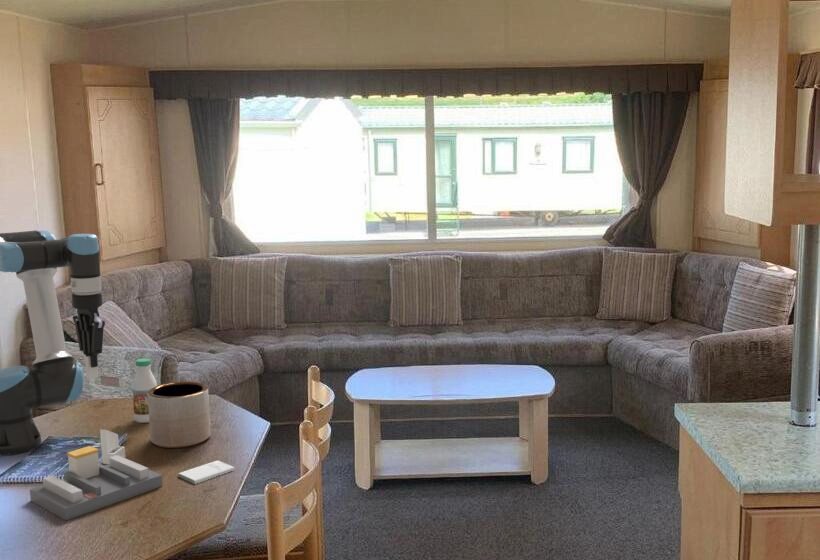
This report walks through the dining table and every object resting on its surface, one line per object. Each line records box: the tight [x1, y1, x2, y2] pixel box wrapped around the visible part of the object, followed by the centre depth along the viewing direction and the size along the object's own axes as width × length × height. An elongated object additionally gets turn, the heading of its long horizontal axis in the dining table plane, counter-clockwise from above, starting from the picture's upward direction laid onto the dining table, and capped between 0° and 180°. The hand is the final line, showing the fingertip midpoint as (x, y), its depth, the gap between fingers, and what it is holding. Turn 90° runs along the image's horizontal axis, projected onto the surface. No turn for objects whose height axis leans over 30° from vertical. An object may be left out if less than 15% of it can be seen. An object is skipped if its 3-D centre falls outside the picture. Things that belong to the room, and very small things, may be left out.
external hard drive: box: [177, 460, 235, 485], centre depth 223 cm, size 2×8×12 cm
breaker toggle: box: [67, 445, 100, 479], centre depth 214 cm, size 4×6×7 cm
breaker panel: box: [29, 455, 163, 521], centre depth 211 cm, size 18×26×5 cm
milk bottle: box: [132, 358, 158, 424], centre depth 268 cm, size 8×8×20 cm
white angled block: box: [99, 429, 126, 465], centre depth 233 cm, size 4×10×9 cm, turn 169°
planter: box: [148, 381, 212, 449], centre depth 249 cm, size 18×18×16 cm
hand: (92, 377), depth 224 cm, fingers closed
